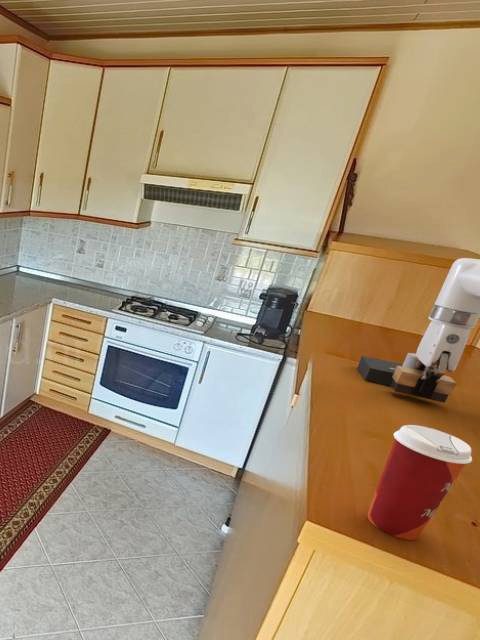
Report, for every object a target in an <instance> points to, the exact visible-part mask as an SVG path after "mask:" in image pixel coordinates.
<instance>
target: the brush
mask: <svg viewBox="0 0 480 640" xmlns="http://www.w3.org/2000/svg"><path fill="white" fill-rule="evenodd" d="M423 372H424V371H421V370H416V369H411V368H406V367H402V366H397V367H396V370H395V372H394V374H393V376H392V377H393V380H392V383H391V386H390V387H391V388H392V390H393V391H394V392H396V393H399V394H400V393H401V394H404V395H409V396H413V397H417V398H422V399H426V400H431V401H434V402H439V403H444V404H445V403H446V402H447V399H448V397H449V396H451V395H452V393H453V392H454V389H455V387H456V386H457V382H456V381H455V380H454V379H453V377H451V376H448V375H443V376H442V377H441V378H440V381H439V383H438V384H437V386H436V388H435V390H434V392H433V394H432V396H431V398H424V397H420V396H415V395H413V394H412V392H413V390H414V388H415V386H416V384H417V381H418V379H419V378H422V375H423ZM429 373H430V372H429ZM429 373H428V374H429Z"/></svg>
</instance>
